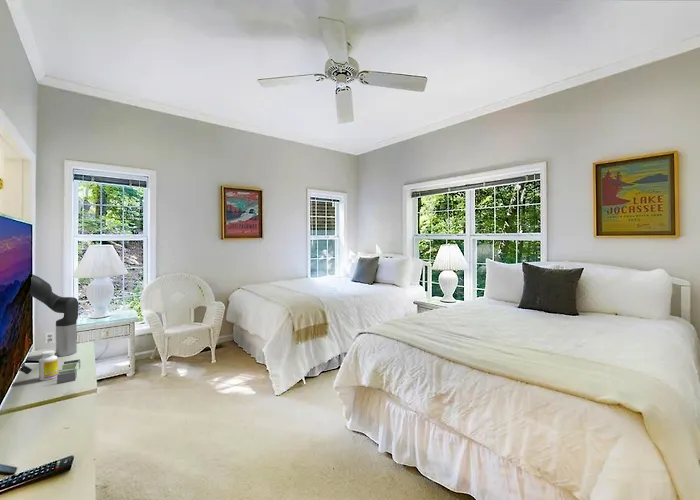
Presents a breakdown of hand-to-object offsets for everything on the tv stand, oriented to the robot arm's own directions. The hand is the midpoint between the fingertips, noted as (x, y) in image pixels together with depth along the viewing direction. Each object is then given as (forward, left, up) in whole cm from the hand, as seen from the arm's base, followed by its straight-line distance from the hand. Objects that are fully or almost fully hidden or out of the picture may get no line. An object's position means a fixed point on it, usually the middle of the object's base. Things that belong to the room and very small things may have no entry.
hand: (29, 372), depth 155 cm
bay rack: (0, +14, -4) cm, 15 cm away
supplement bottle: (0, +7, -5) cm, 8 cm away
